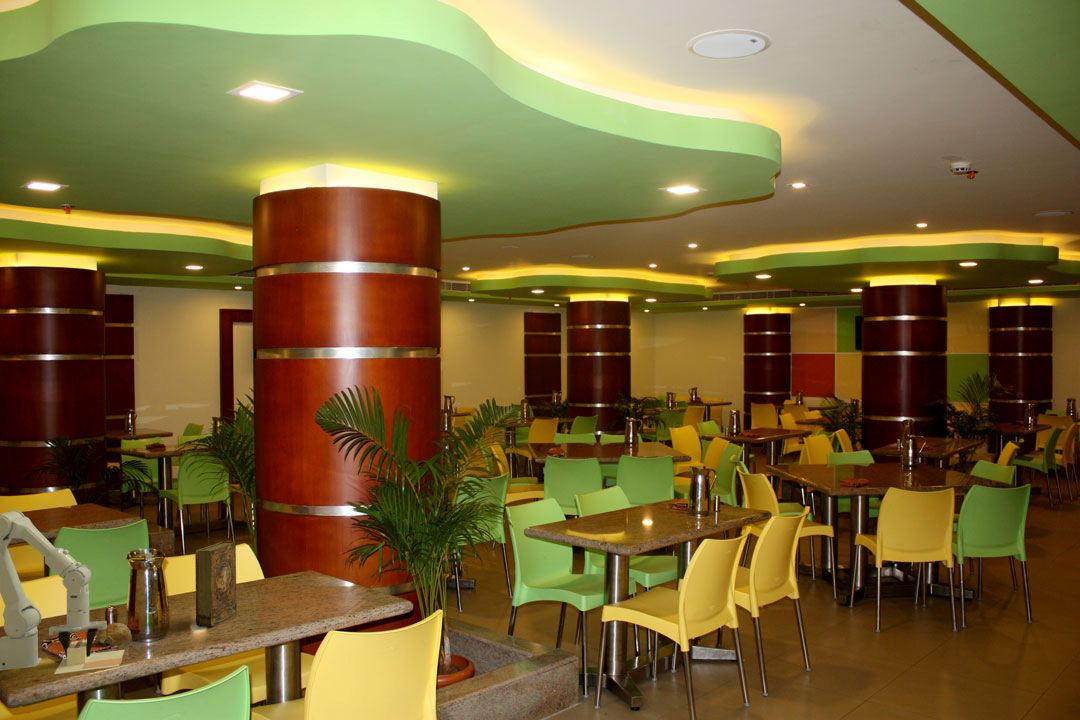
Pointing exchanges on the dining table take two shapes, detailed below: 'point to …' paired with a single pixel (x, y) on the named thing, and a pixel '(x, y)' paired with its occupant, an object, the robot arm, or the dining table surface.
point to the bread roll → (113, 635)
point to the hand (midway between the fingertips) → (78, 656)
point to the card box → (77, 653)
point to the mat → (93, 662)
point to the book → (215, 584)
